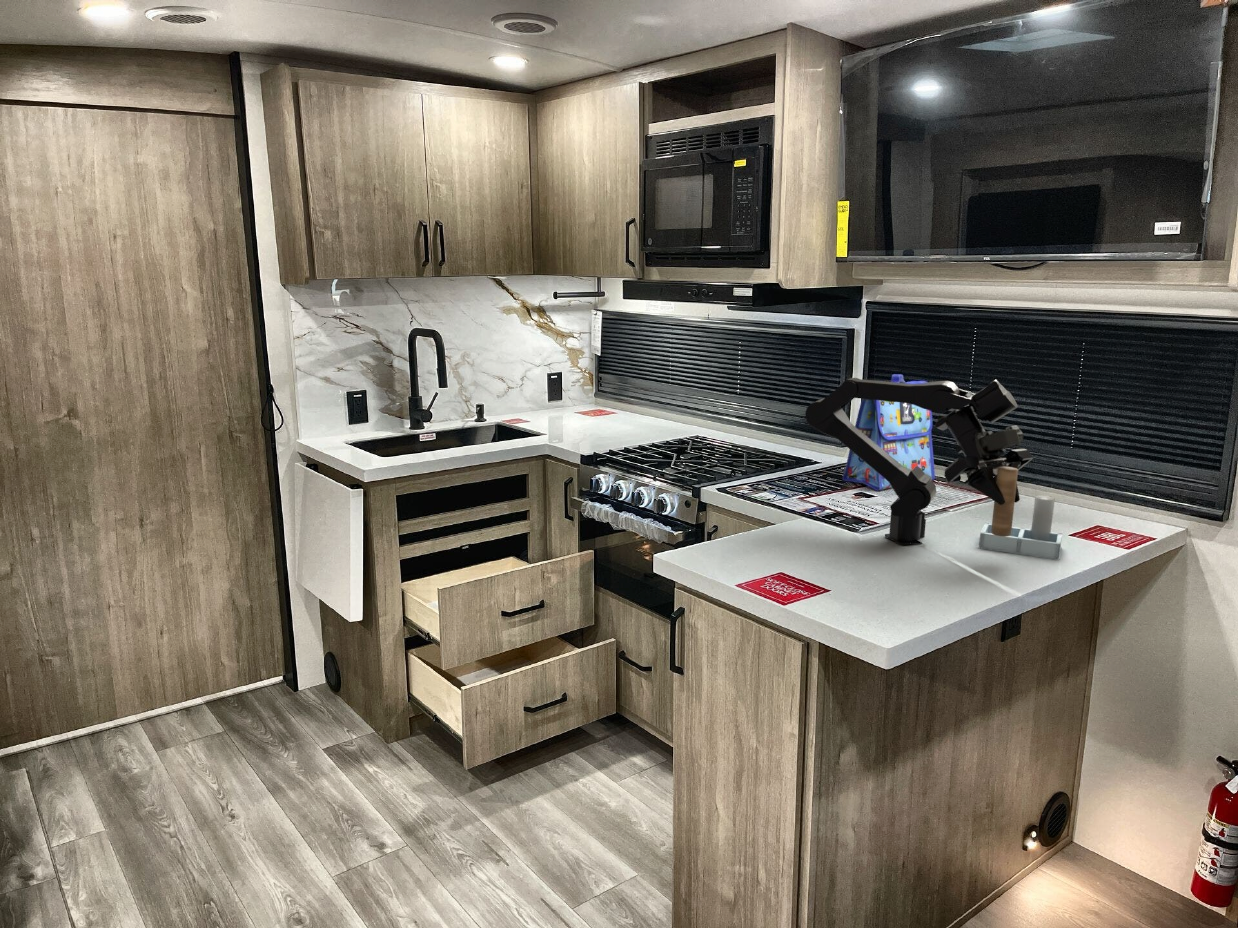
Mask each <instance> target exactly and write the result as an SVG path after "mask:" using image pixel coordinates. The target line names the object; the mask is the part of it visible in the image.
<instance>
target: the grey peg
mask: <svg viewBox="0 0 1238 928" xmlns="http://www.w3.org/2000/svg"><path fill="white" fill-rule="evenodd" d="M1055 501H1056V499H1055V498H1054V497H1053V496H1049V495H1036V496H1034V502H1033V503H1034V504H1033V513H1032V518H1031V519H1032V520H1031V536H1030V539H1034V540H1041V541H1048V542H1050V534H1051V532H1052V525H1053V518H1054V517H1053V516H1054V509H1055Z"/></svg>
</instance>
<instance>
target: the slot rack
mask: <svg viewBox="0 0 1238 928" xmlns="http://www.w3.org/2000/svg"><path fill="white" fill-rule="evenodd" d="M991 528H992V523H987V522H985V523H984V525H983V527H982V529H981V531H980V533H979V545H978V547H977V548H978V549H982V550H990V551H996V552H1003V553H1010V554H1016V555H1023V556H1029V557H1037V558H1043V559H1050V560H1055V561H1056V560H1057V561H1059V560H1060V556H1061V552H1062V542H1063V541H1062V539H1063V533H1059V532H1053V531H1051V534H1050V542H1048V541H1041V540H1034V539H1030V536H1031V529H1030V528H1023V527H1017V526H1016V527H1015V526H1012V530H1011V535H1010V536H997V535H994V534H992V533H991Z"/></svg>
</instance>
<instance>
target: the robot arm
mask: <svg viewBox="0 0 1238 928" xmlns="http://www.w3.org/2000/svg"><path fill="white" fill-rule="evenodd" d="M926 382H927V383H919V384H907V383H896V382H891V381H885V380H884V381H882V380H873V379H872V380H871V379H861V378H858V377H850V378H848V379H846V380H844V381H843V382H842V383H841V385H840V386H838V387H837V388H836V389H835V390H833V391H832V392H831V393H829V394H828V395H826V396H825V397H823V398H820V399H818V400H816V401H813V402H812V403H810V404H809V405H808V406H807V407H806V410H805V421H806V423H807V424H808V425H809V426H810V427H812V428H814V429H815V430H817V431H818V432H820V433H822V434H823V435H826V436H829V437H831V438H834V439H837V440H838V441H839V442H840V443H841V444H843V445H844V446H845V447H846V448H848V450H851V451H852V452H854V453H855V454H856V455H857V456H858V457H860V458H861V459H862V460H863V461H864V462H866V463H867V464H868V465H869V466H870V467H872V468H873V469H874V470H875V471H876V472H878V473H879V474H880V475H881V476H882V477H884V478H885V479H886V480H887V481H888V482H889V483H890V485H891V486H892V488H891V489H892V490H893V492H894V493H895V495H896V496H897V498H896V499H895V501H893V503H892V504H890V506H889V507H890V523H889V531H888V532H889V533H885V534H884V537H885V538H887V539H889V540H890V541H893V542H894V543H897V544H898V545H900V546H908V545H919V544H923V542H922V541H920V539H923V538H925V536H926V526H927V525H926V524H927V519H926V518H925V517H926V513H925V512H923V511H922V510H925V509H926V508H927V507H928V506H929V505H930V504H931V502H932V501H934V500H935V498H936V496H937V485H936V483H935V482H934V480H931V479H932V477H931V476H928V475H927V474H925V473H924V472H923V471H922V470H921V468H920V467H918V466H916V467H914V468H913V469H912V470H911V469H908V468H906V467H904V466H902V465H901V464H900V463H899V462H897V461H896V460H895V459H894V458H892V457H891V456H890V455H889V454H888V453H886V452H885V451H884V450H883V449H882V448H880V447H879V446H878V445H877V444H876V443H874V442H873V441H872V440H871V439H869V438H868V437H867V436H866V435H865V434H863V433H862V432H861V431H860V430H859V429H857V428H856V427H855V425H854V424H853V423H852V422H851V420H850V418H849V417H848V415H847V413H846V412H845V411H844V410H843V408H845V407H847V405H849V403H850V402H852V401H853V400H854V399H861V400H862V399H871V400H881V401H891V402H901V403H909V404H913V405H915V406H918V407H920V408H923V409H927V410H930V411H931V412H933V413H941V414H942V413H946V412H948V411H950V410H952V409H954V410H952V411H951V412H949V413H948V414H946V415H941V414H939V415H938V416H937V421H936V423H935V425H934V427H935V428H937V429H939V430H941V431H945V430H947V429H948V430H949V432H950V433H951V435H952V437H953V438H954V440H955V442H956V443H957V447H956V448H955V451H956V453H957V454H961V453H963V455H964V456H958V457H957V458H956V459H955V460H954V461H953V462H952V463H950V464H949V465H948V466H946V468H945V469H944V474H943V475H944V478H945V480H946V481H947V483H948V484H949V485H951V484H956V483H957V484H958V483H960V482H961V481H962V480H961V478H962V476H961V475H963V474H966V478H967V479H966V480H965V481H964V482H963V483H964V485H966V486H970V487H972V488H974V489H975V490H976V491H978V492H980V493H981V494H983V495H985V496H986V497H988V498H989V499H991V500H992V501H995V502H997V503H998V504H1000V505H1003V504H1004V503H1005V500H1004V497H1003V495H1002V493H1001V491H1000V489H999V487H998V485H997V483H996V480H997V471H998V467H1013V468H1017V469H1018V471H1020V469H1022V468H1023V467H1025V466H1026V465H1027V464H1028V463H1030V462H1031V461H1032V460H1033V459H1034V458H1033V457H1034V456H1032V455H1033V454H1031V452H1030V450H1029V449H1026V448H1017V449H1010V451H1008V452H1007V450H1006V449H1007V448H1011V447H1019V446H1021V442H1022V441H1023V440H1024V433H1023V431H1022V430H1021V429H1020V428H1019V426H1018V425H1011V426H1009V427H1005V428H1004V430H1000V431H997V432H993V431H991V430H987V431H986V430H985V428H984V427H983V425H982V423H981V422H980V420H981V421H982V422H983V423H985V422H987V421H988V422H989V423H990V424H993V423H994V422H996V421H998V420H999V419H1001V418H1002V417H1004V416H1006V415H1008V414H1009V413H1011V412H1012V411H1014V410H1016V409H1017V408H1018V407H1019V406H1018V404H1017V402H1016V400H1015V398H1014V397H1013V395H1012V393H1011V392H1010V391H1009V390H1007V388H1005V387H1004V386H1003V385H1002V384H1001V383H1000V382H999V381H998V379H994V380H992V381H991V382H990V383H988V385H987V386H986V387H983V388H982V389H981V390H979V391H978V392H976V393H973V392H970V391H968V390H963V389H961V388H959V387H958V386H957V385H956V383H955V382H953V381H950V380H938V381H929V382H928V381H926ZM955 408H956V409H955ZM978 418H979V419H978ZM1006 452H1007V453H1006ZM1005 453H1006V454H1005ZM1001 455H1003V456H1002V457H1001ZM994 475H995V476H994ZM1020 499H1021V498H1020V493H1019V488H1018V484H1017V485H1016V494H1015V503H1014V504H1016V503H1018V502H1019V501H1020Z"/></svg>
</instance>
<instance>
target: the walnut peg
mask: <svg viewBox="0 0 1238 928" xmlns="http://www.w3.org/2000/svg"><path fill="white" fill-rule="evenodd" d="M1018 474H1019V470H1018V469H1017V468H1013V467H998V471H997V480H996V483H997V485H998V487H999V489H1000V491H1001V493H1002V495H1003V497H1004V500H1005V503H1004V504H1003V505H1000V504H998V503H997V502H995V501H994V500H993V501H994V502H993V508H992V509H993V512H992V519H991V524H992V528H991V533H992V534H994V535H997V536H1010V535H1011V530H1012V527H1013V520H1014V513H1015V512H1014V510H1015V504H1016V503H1015V494H1016V485H1017V486H1018Z"/></svg>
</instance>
